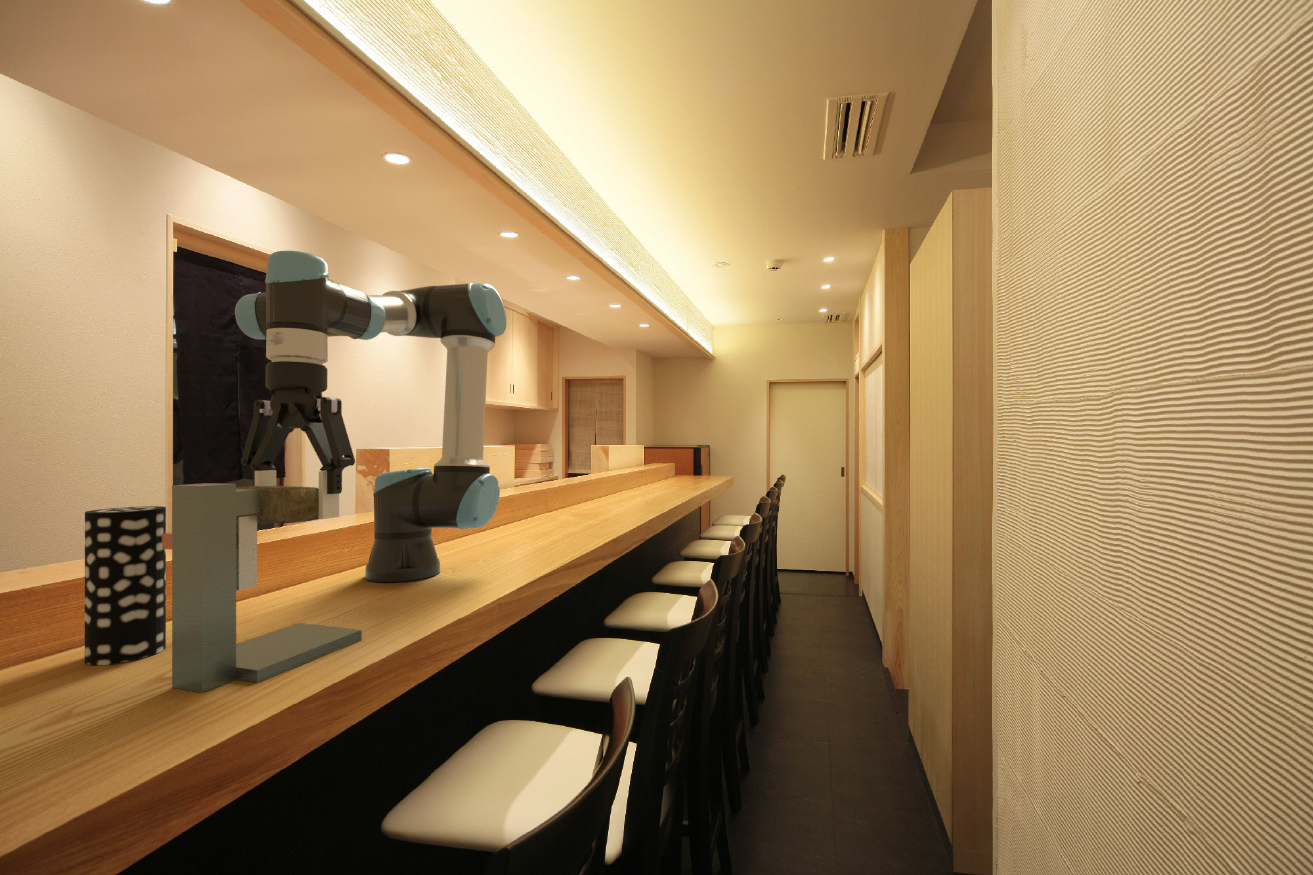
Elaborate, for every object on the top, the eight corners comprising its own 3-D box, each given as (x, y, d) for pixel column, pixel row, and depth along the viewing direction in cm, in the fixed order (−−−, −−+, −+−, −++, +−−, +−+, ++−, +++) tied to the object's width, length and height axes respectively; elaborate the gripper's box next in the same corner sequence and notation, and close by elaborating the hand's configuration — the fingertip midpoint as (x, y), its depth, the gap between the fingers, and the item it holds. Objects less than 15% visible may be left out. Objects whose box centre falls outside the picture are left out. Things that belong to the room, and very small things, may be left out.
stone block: (286, 525, 75) (286, 487, 75) (227, 522, 80) (227, 486, 80) (326, 520, 81) (326, 484, 81) (269, 518, 85) (269, 483, 85)
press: (299, 632, 89) (299, 475, 90) (361, 639, 86) (361, 476, 86) (151, 684, 70) (152, 485, 71) (223, 696, 67) (223, 486, 67)
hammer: (191, 578, 80) (191, 511, 80) (261, 584, 76) (261, 514, 76) (162, 584, 77) (162, 514, 77) (234, 591, 73) (234, 517, 73)
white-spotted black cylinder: (139, 663, 77) (139, 512, 77) (66, 667, 76) (67, 513, 76) (179, 642, 85) (179, 505, 86) (115, 645, 84) (115, 507, 84)
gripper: (211, 363, 83) (209, 517, 83) (340, 354, 76) (339, 522, 76) (261, 370, 91) (260, 511, 90) (383, 362, 83) (383, 516, 83)
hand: (296, 516), depth 83 cm, fingers closed on stone block, 11 cm apart
